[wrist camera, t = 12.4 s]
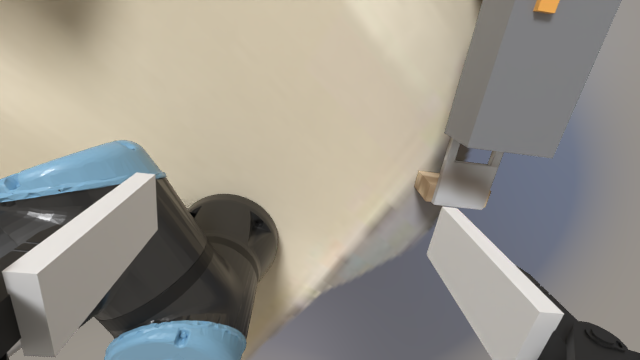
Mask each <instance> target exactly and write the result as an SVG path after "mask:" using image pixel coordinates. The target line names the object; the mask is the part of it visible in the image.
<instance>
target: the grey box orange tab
mask: <svg viewBox="0 0 640 360" xmlns="http://www.w3.org/2000/svg"><path fill="white" fill-rule="evenodd" d="M621 1H622V0H483V1H482V5H481V8H480V12H479V15H478V19H477V22H476V26H475V29H474V32H473V36H472V39H471V43H470V46H469V50H468V53H467V57H466V60H465V63H464V67H463V70H462V74H461V77H460V81H459V84H458V88H457V91H456V94H455V98H454V101H453V105H452V108H451V112H450V115H449V119H448V122H447V125H446V129H445V132H444V133H445V134H446V135H448V136H450V137H451V138H453V139H454V140H456V141H458V142H459V143H461V144H462V145H464V146H466V147H467V148H474V149H483V150H490V151H498V152H507V153H514V154H523V155H531V156H538V157H547V158H553V156H554V154H555V152H556V149H557V147H558V145H559V142H560V140H561V138H562V135H563V133H564V131H565V129H566V126H567V124H568V122H569V119H570V117H571V115H572V112H573V110H574V108H575V106H576V104H577V101H578V99H579V97H580V94H581V92H582V90H583V88H584V85H585V83H586V81H587V78H588V76H589V74H590V71H591V69H592V67H593V65H594V62H595V60H596V58H597V55H598V53H599V51H600V49H601V46H602V44H603V42H604V39H605V37H606V35H607V33H608V30H609V28H610V26H611V23H612V21H613V19H614V16H615V14H616V12H617V10H618V7H619V5H620V3H621Z"/></svg>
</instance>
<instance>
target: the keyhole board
mask: <svg viewBox="0 0 640 360" xmlns="http://www.w3.org/2000/svg"><path fill="white" fill-rule="evenodd" d="M459 146H460V143H459V142H458V141H456V140H454V139H453V138H450V141H449V145H448V148H447V152H446V155H445V158H444V162H443V165H442V168H441V172H440V173H434V172H426V171H418V174H417V178H416V182H415V185H414V187H415V188H416V189H417V191H418V192H419V193H420V194H421V196H422V197H423V198H424V200H425V201H428V202H432V203H433V205H441V206H451V207H460V208H469V209H478V210H483V208H485V207H486V204H487V201H488V199H489V196H490V193H491V191H490V188H491V186H492V183H493V180H494V178H495V175H496V172H497V169H498V166H499V164H500V162H501V159H502V156H503V153H504V152H498V151H492V153H491V156H490V159H489V162H488V164H480V163H471V162H463V161H455V159H456V156H457V152H458V149H459Z"/></svg>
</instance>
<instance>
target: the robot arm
mask: <svg viewBox="0 0 640 360" xmlns="http://www.w3.org/2000/svg"><path fill="white" fill-rule="evenodd" d="M166 177H167V176H166V174H165V173H164V172H161V170H160V169H159V168H158V166H157V165H156V164H155V163H154V161H153V160H152V159H151V158H150V156H149V155H148V154H147V152H146V151H145V150H144V149H143V148H142V147H141V146H140V145H138V144H137V143H135V142H132V141H127V140H119V141H113V142H110V143H106V144H102V145H99V146H96V147H92V148H89V149H86V150H83V151H80V152H76V153H73V154H70V155H67V156H64V157H61V158H58V159H55V160H52V161H49V162H46V163H43V164H40V165H37V166H34V167H32V168H29V169H26V170H23V171H21V172H20V173H16V174H13V175H10V176H8V177H5V178H2V179H0V360H9V357H10V356H12V355H13V354H14V353H16V352H17V351H18V350H20V349H21V348H22V349H23V353H24V356H42V357H56V355H57V354H58V353H59V352H60V350H61V349H62V348H63V347H64V346H65V344H66V343H67V342H68V341H69V339H70V338H71V337H72V336H73V334H74V333H75V332H76V331H77V329H78V328H80V327H81V326H82V325H83V324H85V323H86V322H87V321H88V320H90V319H91V318H92V317H95V318H96V319H97V320H98V321H99V322H100V323H101V324H102V325H103V326H104V327H105V328H106V329H107V330H108V331H109V332H110V333H111V334H112V336H113V337H114V340H113V342H111V343H110V345H109V346H108V348H107V350H106V356H105V358H104V360H241V356H242V353H243V352H244V350H245V348H246V338H247V333H248V328H249V323H250V318H251V313H252V308H253V303H254V298H255V293H256V289H257V284H258V282H259V281H260V279H261V278H262V277H263V276H264V274H265V273H266V272H267V270H268V269H269V268H270V266H271V265H272V263H273V261H274V258H275V256H276V251H277V245H278V233H277V229H276V226H275V224H274V222H273V220H272V218H271V217H270V215H269V214H268V213H267V212H266V211H265V210H264V209H263V208H262V207H261V206H259V205H258V204H256V203H255V202H253V201H251V200H249V199H247V198H244V197H241V196H237V195H231V194H217V195H212V196H208V197H205V198H203V199H201V200H199V201H197V202H196V203H194V204H193V205H192V206H191V207H190V208H189V209H187V208H186V207H185V205H184V204H183V202H182V201H181V199H180V198H179V196H178V195H177V193H176V192H175V190H174V189H173V187H172V186H171V184H170V183H169V181H168V180H167V178H166ZM427 256H428V258H429V259H430V261H431V262H432V264H433V266H434V267H435V269H436V270H437V272H438V274H439V275H440V277H441V278H442V280H443V282H444V283H445V285H446V286H447V288H448V289H449V291H450V293H451V294H452V296H453V298H454V299H455V301H456V302H457V304H458V306H459V307H460V309H461V310H462V312H463V313H464V315H465V317H466V318H467V320H468V321H469V323H470V325H471V326H472V328H473V329H474V331H475V333H476V334H477V336H478V337H479V339H480V340H481V342H482V344H483V345H484V347H485V348H486V350H487V352H488V353H489V355H490V357H491V358H492V360H640V353H637V352H634V351H631V350H628V349H627V347H626V346H625V345H624V344H623V343H622V342H621V341H620V340H619V339H618V338H617V337H615V336H614V335H613V334H611V333H610V332H608V331H606V330H605V329H603V328H601V327H599V326H596V325H594V324H591V323H588V322H582V321H577V319H575V318H574V317H573V316H572V315H571V314H570V313H569V312H568V311H567V310H566V309H565V308H564V307H563V306H562V305H561V304H560V303H559V302H558V301H557V300H556V299H555V298H554V297H553V296H552V295H549V294H548V292H547V291H546V290H545V289H544V288H543V287H542V286H540V284H539V283H538V282H537V281H536V280H535V279H534V278H533V277H532V276H531V275H530V274H528V273H527V272H525V271H524V270H522V269H521V268H519V267H518V266H515V265H514V264H513V263H512V262H511V261H510V260H509V259H508V258H507V257H506V256H505V255H504V254H503V253H502V252H501V251H500V250H499V249H498V248H497V247H496V246H495V245H494V244H493V243H492V242H491V241H490V240H489V239H488V238H487V237H486V236H485V235H484V234H483V233H482V232H481V231H480V230H479V229H478V228H477V227H476V226H475V225H474V224H473V223H471V221H470V220H468V219H467V217H466V216H465V215H464V214H463V213H462V212H460V211H459V209H457V208H451V207H442V208H441V212H440V215H439V218H438V221H437V224H436V227H435V230H434V233H433V237H432V239H431V243H430V246H429V249H428V252H427Z"/></svg>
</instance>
